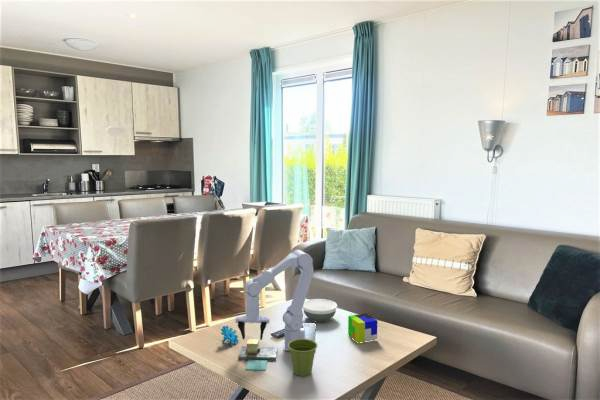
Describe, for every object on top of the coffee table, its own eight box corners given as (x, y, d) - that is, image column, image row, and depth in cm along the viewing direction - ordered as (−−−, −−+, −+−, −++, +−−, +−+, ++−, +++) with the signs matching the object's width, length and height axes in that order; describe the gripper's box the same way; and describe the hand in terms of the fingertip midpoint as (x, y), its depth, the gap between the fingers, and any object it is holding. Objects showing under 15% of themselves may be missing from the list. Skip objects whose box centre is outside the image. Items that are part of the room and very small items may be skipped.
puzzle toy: (376, 340, 196) (377, 320, 195) (358, 344, 193) (358, 323, 192) (366, 332, 206) (366, 313, 205) (348, 335, 202) (348, 315, 201)
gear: (232, 345, 187) (219, 327, 189) (223, 353, 188) (210, 335, 191) (243, 339, 197) (231, 322, 200) (235, 346, 198) (223, 329, 201)
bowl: (319, 329, 209) (319, 313, 209) (294, 318, 223) (294, 303, 222) (344, 320, 222) (344, 304, 221) (319, 310, 236) (319, 296, 235)
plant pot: (323, 371, 167) (323, 344, 166) (303, 382, 159) (304, 354, 158) (301, 361, 175) (301, 336, 174) (281, 372, 167) (281, 345, 165)
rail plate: (277, 349, 186) (277, 346, 186) (275, 360, 176) (275, 357, 176) (242, 349, 187) (242, 346, 186) (238, 359, 177) (238, 356, 177)
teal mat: (267, 360, 176) (267, 360, 176) (265, 370, 168) (265, 369, 168) (248, 360, 176) (248, 359, 176) (245, 370, 168) (245, 369, 168)
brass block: (258, 352, 184) (258, 339, 183) (257, 357, 179) (257, 343, 179) (248, 352, 184) (248, 339, 183) (246, 357, 179) (246, 343, 179)
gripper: (234, 311, 176) (234, 342, 177) (268, 311, 175) (268, 343, 177) (237, 305, 183) (237, 335, 184) (269, 306, 182) (269, 336, 184)
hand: (252, 338), depth 181 cm, fingers open, 7 cm apart
